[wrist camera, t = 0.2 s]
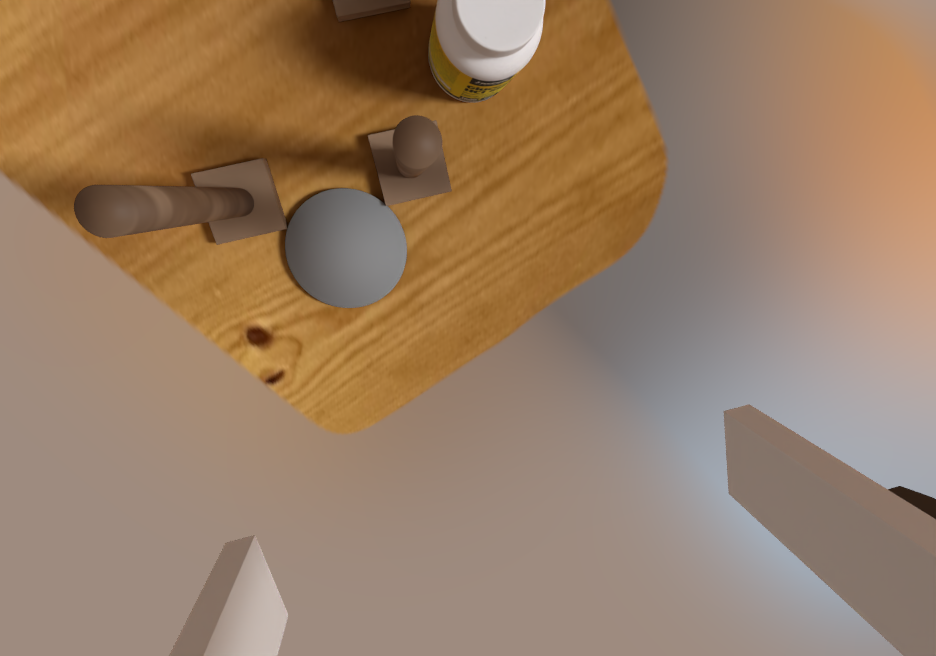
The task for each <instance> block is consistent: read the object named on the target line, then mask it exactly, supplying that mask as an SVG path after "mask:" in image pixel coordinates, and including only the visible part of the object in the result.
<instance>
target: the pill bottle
mask: <svg viewBox="0 0 936 656" xmlns="http://www.w3.org/2000/svg"><path fill="white" fill-rule="evenodd" d="M544 10H545V0H438V1H437V5H436V10H435V15H434V20H433V25H432V29H431V34H430V39H429V47H428V58H429V64H430V68H431V71H432V74H433V76H434V78H435V80H436V82H437V83H438V85H439V86H440V87H441V88H442V89H443V90H444V91H445V92H446V93H447V94H448V95H450V96H451V97H453V98H455V99H457V100H460V101H464V102H480V101H484V100H487V99H489V98H491V97H492V96H494V95H495V94H497V93H498V92H499V91H500V90H501V89H502V88H503V87H504V86H505V85H506V84H507V83H508V82H509V81H511V80H512V78H513V77H514V76H515V75H516V74H517V73H518V72H520V71H521V70H522V69H523V68H524V67H525V66H526V64H527V63H528V62H529V61H530V59H531V58H532V56H533V55H534V53H535V51H536V49H537V47H538V44H539V41H540V38H541V34H542V28H543V15H544Z"/></svg>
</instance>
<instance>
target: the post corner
mask: <svg viewBox="0 0 936 656" xmlns="http://www.w3.org/2000/svg"><path fill="white" fill-rule="evenodd" d="M368 138H369V142H370V146H371V150H372V154H373V158H374V162H375V165H376V169H377V173H378V177H379V181H380V185H381V189H382V192H383V196H384V200H385V204H386V206H389V205H393V204H398V203H402V202H406V201H411V200H415V199H420V198H424V197H428V196H433V195H437V194H442V193H446V192H450V191H452V190H451V186H450V181H449V177H448V172H447V167H446V163H445V158H444V154H443V149H442V137H441V133H440V131H439V129H438V126H437V122H436V120H435V121H431V120H430V119H428V118H426V117H423V116H410V117H407V118H405V119H404V120H402V121H401V122H400V123H399V124H398V125H397V127H396V129H394V130H390V131H385V132H380V133H376V134H371V135H368Z"/></svg>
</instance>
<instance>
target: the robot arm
mask: <svg viewBox="0 0 936 656" xmlns="http://www.w3.org/2000/svg"><path fill="white" fill-rule="evenodd" d="M724 423H725V439H726V456H727V472H728V489H729V494H730V495H731V496H732V497H733V498H734V499H735V500H736V501H737V502H739V503H740V504H741V505H742V506H743V507H744V508H745V509H746V510H747V511H748V512H749V513H750V514H751V515H752V516H754V517H755V518H756V519H757V520H758V521H759V522H760V523H761V524H762V525H763V526H764V527H765V528H767V529H768V530H769V531H770V532H771V533H772V534H773V535H774V536H775V537H776V538H777V539H779V541H781V542H782V543H783V544H784V545H785V546H786V547H787V548H788V549H789V550H790V551H791V552H792V553H794V554H795V555H796V556H797V557H798V558H799V559H800V560H801V561H802V562H803V563H804V564H805V565H806V566H807V567H809V568H810V569H811V570H812V571H813V572H814V573H815V574H816V575H817V576H818V577H819V578H820V579H822V580H823V581H824V582H825V583H826V584H827V585H828V586H829V587H830V588H831V589H832V590H833V591H834V592H836V593H837V594H838V595H839V596H840V597H841V598H842V599H843V600H844V601H845V602H846V603H848V605H850V606H851V607H852V608H853V609H854V610H855V611H856V612H857V613H858V614H859V615H860V616H861V617H863V618H864V619H865V620H866V621H867V622H868V623H869V624H870V625H871V626H872V627H873V628H874V629H875V630H877V631H878V632H879V633H880V634H881V635H882V636H883V637H884V638H885V639H886V640H887V641H889V642H890V643H891V644H892V645H893V646H894V647H895V648H896V649H897V650H898V651H899V652H900V653H901V654H902V655H903V656H936V499H934V498H932V497H929V496H927V495H924V494H921V493H918V492H915V491H912V490H910V489H907V488H904V487H901V486H898V487H895V488H891V489H888V490H887V489H886V488H884V487H882V486H881V485H879V484H878V483H876V482H874V481H873V480H871V479H869V478H868V477H866V476H865V475H863V474H861V473H860V472H858V471H856V470H855V469H853V468H852V467H850V466H848V465H847V464H845V463H843V462H842V461H840V460H838V459H837V458H835V457H834V456H832V455H831V454H829V453H827V452H826V451H824V450H822V449H821V448H819V447H818V446H816V445H814V444H812V443H811V442H809V441H808V440H806V439H805V438H803V437H801V436H800V435H798V434H796V433H795V432H793V431H792V430H790V429H788V428H787V427H785V426H783V425H782V424H780V423H779V422H777V421H775V420H774V419H772V418H770V417H769V416H767V415H765V414H764V413H762V412H761V411H759V410H757V409H756V408H754V407H752V406H751V405H745V406H742V407H738V408H734V409H730V410H726V411H724ZM287 618H288V613H287V611H286V608H285V606H284V604H283V601H282V599H281V597H280V594H279V592H278V589H277V587H276V584H275V582H274V579H273V577H272V575H271V573H270V570H269V567H268V565H267V563H266V560H265V558H264V555H263V553H262V551H261V548H260V546H259V544H258V541H257V539H256V537H255V535H253V536H250V537H246V538H242V539H238V540H235V541H230V542H227V543H225V546H224V547H223V549H222V551H221V553H220V555H219V557H218V559H217V561H216V563H215V566H214V567H213V569H212V571H211V573H210V576H209V577H208V579H207V581H206V583H205V585H204V588H203V589H202V591H201V593H200V595H199V597H198V599H197V601H196V603H195V605H194V607H193V609H192V611H191V613H190V615H189V617H188V619H187V621H186V623H185V625H184V627H183V629H182V631H181V633H180V635H179V637H178V639H177V641H176V643H175V645H174V647H173V649H172V651H171V653H170V655H169V656H277V655H278V652H279V648H280V644H281V640H282V637H283V633H284V629H285V625H286V621H287Z"/></svg>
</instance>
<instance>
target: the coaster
mask: <svg viewBox="0 0 936 656" xmlns="http://www.w3.org/2000/svg"><path fill="white" fill-rule="evenodd" d="M285 251H286V258H287V262H288V265H289V267H290V270H291V272H292V274H293V276H294V277H295V279H296V280H297V282H298V283H299V284H300V285H301V287H302V288H303V289H304V290H305V291H306V292H308V293H309V294H310V295H311V296H313V297H314V298H316V299H318V300H319V301H322V302H324V303H326V304H329V305H332V306H336V307H343V308H356V307H362V306H366V305H369V304H372V303H374V302H376V301H378V300H380V299H381V298H383V297H384V296H385V295H387V294H388V293H389V292H390V291H391V290H392V289H393V288H394V287H395V285H396V284H397V282H398V281H399V279H400V277H401V275H402V273H403V270H404V267H405V263H406V256H407V245H406V239H405V234H404V231H403V228H402V226H401V224H400V222H399V220H398V219H397V217H396V215H395V214H394V213H393V212H392V210H391V209H390V208H389V207H388V206H386V204H385V203H383V202H382V201H381V200H379V199H378V198H376V197H374V196H372V195H371V194H368V193H366V192H363V191H359V190H355V189H347V188H340V189H331V190H327V191H324V192H321V193H319V194H316V195H314V196H313V197H311V198H310V199H308V200H307V201H306V202H304V203H303V204H302V205H301V206H300V207H299V209H298V210H297V211H296V212H295V214H294V215H293V217H292V219H291V221H290V223H289V226H288V229H287V232H286V239H285Z"/></svg>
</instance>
